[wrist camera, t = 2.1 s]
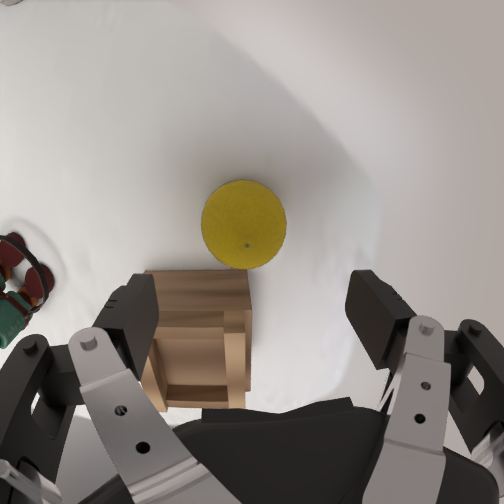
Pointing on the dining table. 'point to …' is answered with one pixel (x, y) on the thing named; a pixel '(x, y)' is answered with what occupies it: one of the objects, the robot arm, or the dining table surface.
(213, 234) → the lemon
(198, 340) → the wooden crate
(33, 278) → the binoculars
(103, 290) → the dining table surface
